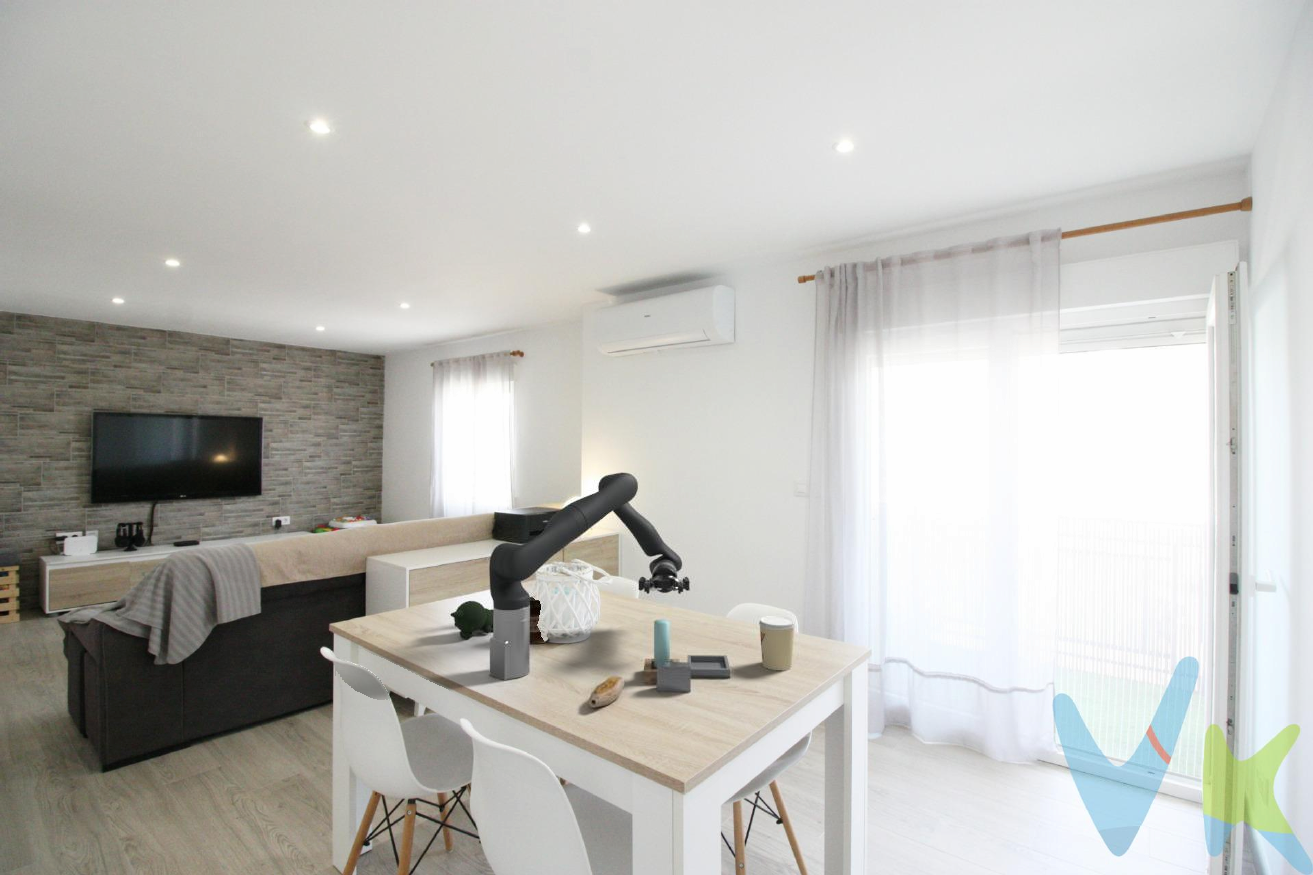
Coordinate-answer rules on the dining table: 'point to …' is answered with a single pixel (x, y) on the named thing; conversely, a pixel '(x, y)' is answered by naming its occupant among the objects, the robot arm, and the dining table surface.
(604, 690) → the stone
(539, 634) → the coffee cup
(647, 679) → the socket
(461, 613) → the toy figurine
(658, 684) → the gray rectangular block
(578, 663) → the dining table surface
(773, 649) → the coffee cup
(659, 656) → the dowel
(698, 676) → the tray
